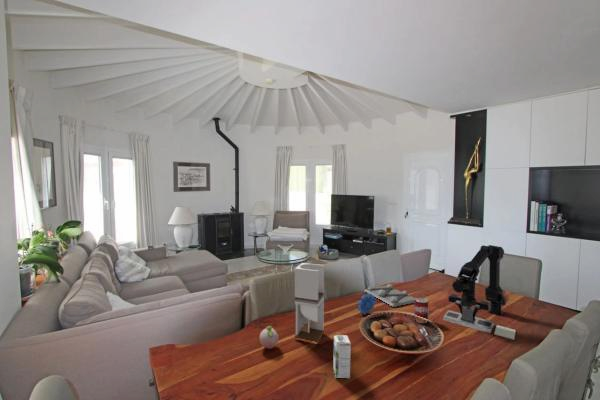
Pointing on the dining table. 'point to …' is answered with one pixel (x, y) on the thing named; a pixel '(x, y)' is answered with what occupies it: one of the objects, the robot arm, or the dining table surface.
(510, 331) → the sage pad
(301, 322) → the white dispenser tower
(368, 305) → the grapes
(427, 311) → the soda can
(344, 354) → the syrup box
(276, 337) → the decorative fruit
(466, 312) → the steel block
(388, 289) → the grey ridged tray
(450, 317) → the rail plate
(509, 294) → the dining table surface
